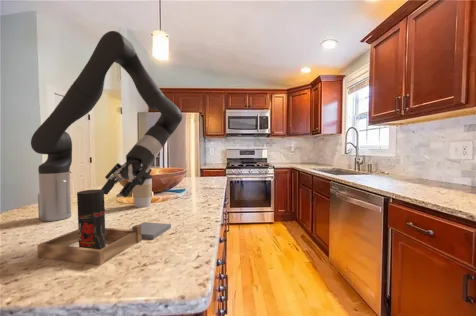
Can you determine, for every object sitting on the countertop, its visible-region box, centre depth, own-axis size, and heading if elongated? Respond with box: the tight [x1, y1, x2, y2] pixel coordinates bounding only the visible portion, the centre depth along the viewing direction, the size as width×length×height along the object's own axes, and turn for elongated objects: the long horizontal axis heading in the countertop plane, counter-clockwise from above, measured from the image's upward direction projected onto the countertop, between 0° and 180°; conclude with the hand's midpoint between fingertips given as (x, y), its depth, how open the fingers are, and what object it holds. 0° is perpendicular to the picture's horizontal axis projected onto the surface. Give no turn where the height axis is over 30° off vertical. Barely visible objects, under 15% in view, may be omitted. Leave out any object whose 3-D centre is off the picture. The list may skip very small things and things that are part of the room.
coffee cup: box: [131, 173, 153, 208], centre depth 108 cm, size 9×9×15 cm
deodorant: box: [76, 189, 107, 249], centre depth 62 cm, size 6×6×15 cm
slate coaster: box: [128, 221, 172, 240], centre depth 74 cm, size 10×10×1 cm
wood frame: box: [36, 224, 143, 266], centre depth 62 cm, size 19×14×4 cm
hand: (112, 194), depth 67 cm, fingers open, 8 cm apart
